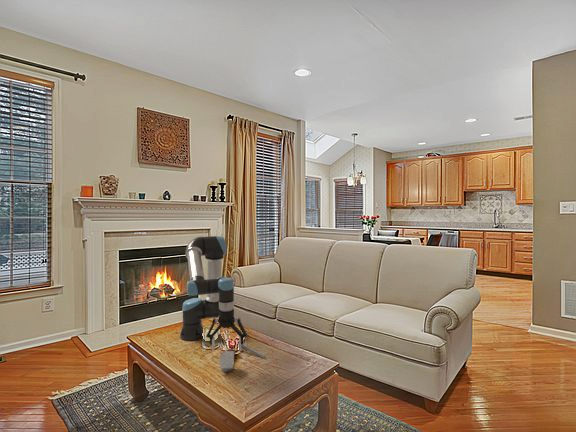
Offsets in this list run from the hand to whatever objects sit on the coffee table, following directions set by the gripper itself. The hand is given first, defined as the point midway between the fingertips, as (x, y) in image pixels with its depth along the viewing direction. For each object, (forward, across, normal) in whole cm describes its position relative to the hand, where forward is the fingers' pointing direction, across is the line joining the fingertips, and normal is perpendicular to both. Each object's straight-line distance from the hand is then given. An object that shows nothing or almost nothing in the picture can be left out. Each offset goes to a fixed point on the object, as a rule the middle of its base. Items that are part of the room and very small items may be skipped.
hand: (226, 350), depth 173 cm
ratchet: (+10, 0, +7) cm, 13 cm away
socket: (+7, 0, -1) cm, 7 cm away
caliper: (+11, +11, +17) cm, 23 cm away
